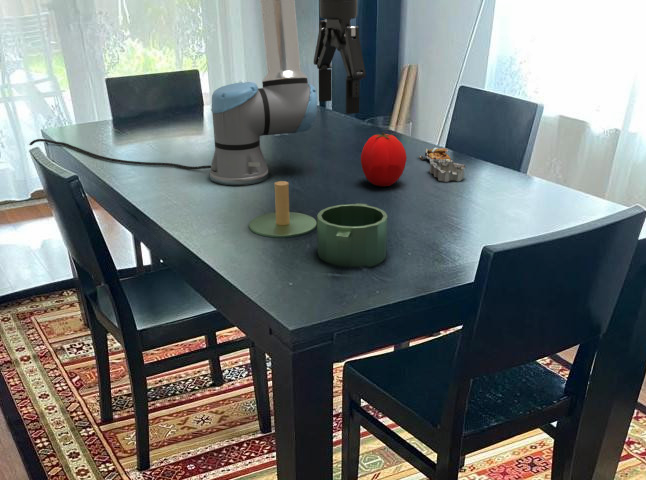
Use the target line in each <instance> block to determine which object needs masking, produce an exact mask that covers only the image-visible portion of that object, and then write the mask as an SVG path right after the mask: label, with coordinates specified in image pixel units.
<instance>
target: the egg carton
mask: <svg viewBox="0 0 646 480" xmlns="http://www.w3.org/2000/svg"><path fill="white" fill-rule="evenodd" d="M466 168H467V166H466V165H465V164H464V163H462V164H461V163H458V162H454V160H453V159H451V160H450V161H447V160H446V159H445V160H442V159H436V160H435V159H431V158H430V159H429V173H430V174H431V175H432V174H433V177H434V178H437V180H438V182H444V183H449V182H450V181H456V182H461V181H462V180H464V176H465V171H464V169H466Z"/></svg>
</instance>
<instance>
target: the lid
mask: <svg viewBox="0 0 646 480" xmlns="http://www.w3.org/2000/svg"><path fill="white" fill-rule="evenodd" d="M289 186H290V185H289V182H288V181H285V180H279V181H275V182H274V205H275V206H274V207H275V212H269V213H264V214H260V215H258V216H255V217H253V218H252V219H251V220H250V221H249V223H248V228H249V230H250V231H251V232H252V233H254V234H256V235H258V236H262V237H267V238H273V239H274V238H276V239H286V238H288V239H289V238H296V237H300V236H305V235H307V234H310V233H311V232H314V230H315V229H317V219H315V218H314V217H312V216H311V215H309V214H305V213H300V212H294V211H293V212H292V211H290V187H289Z"/></svg>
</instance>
